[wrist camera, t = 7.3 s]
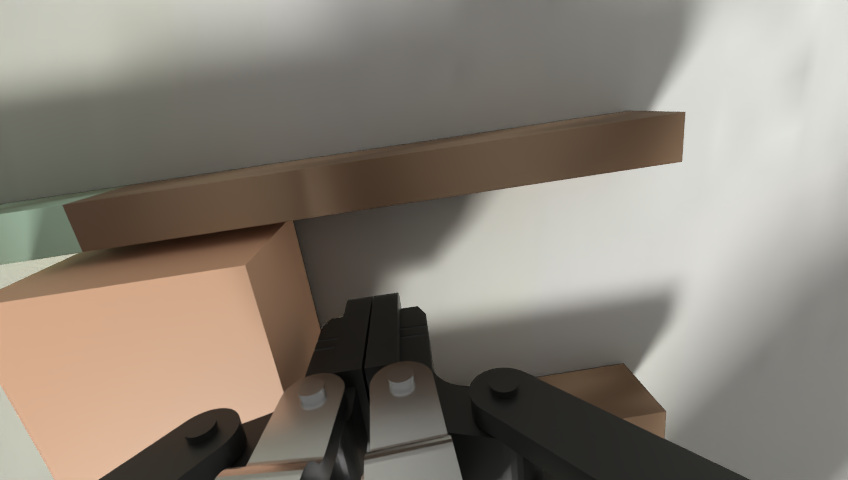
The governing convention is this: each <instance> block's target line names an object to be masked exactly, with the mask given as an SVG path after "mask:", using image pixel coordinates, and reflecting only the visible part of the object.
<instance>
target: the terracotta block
mask: <svg viewBox="0 0 848 480" xmlns="http://www.w3.org/2000/svg"><path fill="white" fill-rule="evenodd" d="M320 332H321V330H320V326H319V322H318V318H317V314H316V310H315V306H314V303H313V299H312V295H311V291H310V287H309V283H308V279H307V275H306V271H305V267H304V263H303V259H302V255H301V251H300V247H299V243H298V239H297V235H296V231H295V227H294V223H293V221H286V222H280V223H273V224H267V225H260V226H253V227H247V228H240V229H234V230H227V231H220V232H214V233H207V234H201V235H194V236H187V237H181V238H174V239H167V240H161V241H154V242H148V243H141V244H134V245H128V246H121V247H115V248H108V249H101V250H95V251H88V252H82V253H78V254H76V255H74V256H71V257H69V258H67V259H65V260H63V261H61V262H58V263H56V264H54V265H52V266H50V267H48V268H45V269H43V270H41V271H39V272H37V273H35V274H32V275H30V276H28V277H26V278H24V279H22V280H20V281H17V282H15V283H13V284H11V285H9V286H7V287H4V288H2V289H0V385H1V386H2V388H3V390H4V392H5V393H6V395H7V397H8V399H9V400H10V402H11V404H12V406H13V407H14V409H15V411H16V413H17V415H18V416H19V418H20V420H21V422H22V423H23V425H24V427H25V429H26V430H27V432H28V434H29V436H30V437H31V439H32V441H33V443H34V444H35V446H36V448H37V450H38V451H39V453H40V455H41V457H42V458H43V460H44V462H45V464H46V465H47V467H48V469H49V471H50V472H51V474H52V476H53V478H54V480H99V479H100V478H102V477H103V476H105V475H106V474H108V473H109V472H111V471H112V470H114V469H115V468H117V467H118V466H120V465H121V464H123V463H124V462H126V461H127V460H129V459H130V458H132V457H133V456H135V455H136V454H138V453H139V452H141V451H142V450H144V449H145V448H147V447H148V446H150V445H151V444H153V443H154V442H156V441H157V440H159V439H160V438H162V437H163V436H165V435H166V434H168V433H169V432H171V431H172V430H174V429H175V428H177V427H178V426H180V425H181V424H183V423H184V422H186V421H187V420H189V419H191V418H192V417H194V416H196V415H198V414H201V413H203V412H206V411H209V410H213V409H218V408H229V409H233V410H235V411H236V412H237V413H238V414H239V416H240V419H241V422H242V424H243V423H245V422H248V421H251V420H254V419H256V418H259V417H262V416H264V415H267V414H269V413H272V412H274V410H275V408H276V406H277V404H278V402H279V400H280V398H281V396H282V395H283V393H284V392H285V391H286V390H287V389H288V388H289V387H290V386H291V385H292V384H294V383H295V382H297V381H299V380H300V379H303V378H305V375H306V372H307V369H308V366H309V363H310V361H311V358H312V355H313V352H314V351H315V346H316V343H317V342H318V338H319V335H320Z"/></svg>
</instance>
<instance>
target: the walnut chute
mask: <svg viewBox="0 0 848 480" xmlns="http://www.w3.org/2000/svg"><path fill="white" fill-rule="evenodd" d="M684 123H685V112H662V111H625V112H618V113H611V114H604V115H598V116H591V117H584V118H578V119H571V120H564V121H557V122H551V123H544V124H537V125H531V126H524V127H517V128H510V129H504V130H497V131H490V132H484V133H477V134H470V135H463V136H457V137H450V138H443V139H437V140H430V141H423V142H416V143H410V144H403V145H396V146H390V147H383V148H376V149H369V150H363V151H356V152H349V153H342V154H336V155H329V156H322V157H316V158H309V159H302V160H295V161H289V162H282V163H275V164H269V165H262V166H255V167H248V168H242V169H235V170H228V171H222V172H215V173H208V174H201V175H195V176H188V177H181V178H175V179H168V180H161V181H154V182H148V183H141V184H134V185H128V186H121V187H114V188H107V189H101V190H94V191H87V192H81V193H74V194H67V195H60V196H54V197H47V198H40V199H34V200H27V201H20V202H13V203H7V204H0V265H2V264H9V263H15V262H22V261H29V260H35V259H42V258H49V257H55V256H62V255H68V254H75V253H82V252H88V251H95V250H101V249H108V248H115V247H121V246H128V245H134V244H141V243H148V242H154V241H161V240H167V239H174V238H181V237H187V236H194V235H201V234H207V233H214V232H220V231H227V230H234V229H240V228H247V227H253V226H260V225H267V224H273V223H280V222H286V221H293V220H300V219H306V218H313V217H320V216H326V215H333V214H339V213H346V212H353V211H359V210H366V209H372V208H379V207H386V206H392V205H399V204H405V203H412V202H419V201H425V200H432V199H438V198H445V197H452V196H458V195H465V194H472V193H478V192H485V191H491V190H498V189H505V188H511V187H518V186H524V185H531V184H538V183H544V182H551V181H557V180H564V179H571V178H577V177H584V176H591V175H597V174H604V173H610V172H617V171H624V170H630V169H637V168H643V167H650V166H657V165H663V164H670V163H676V162H682V154H683V138H684ZM536 378H538V379H540V380H542V381H544V382H546V383H548V384H550V385H552V386H555V387H557V388H559V389H561V390H563V391H565V392H567V393H569V394H571V395H573V396H576V397H578V398H580V399H582V400H584V401H586V402H588V403H590V404H592V405H594V406H596V407H599V408H601V409H603V410H605V411H607V412H609V413H611V414H613V415H615V416H617V417H620V418H622V419H624V420H626V421H628V422H630V423H632V424H634V425H636V426H638V427H640V428H643V429H645V430H647V431H649V432H651V433H653V434H655V435H657V436H659V437H661V438H664V437H665V421H666V411H665V410H664V409H663V408H662V406H661V405H660V404H659V403H658V402H657V401H656V400H655V398H654V397H653V396H652V395H651V394H650V393H649V392H648V390H647V389H646V388H645V387H644V386H643V385H642V384H641V383H640V381H639V380H638V379H637V378H636V377H635V376H634V375H633V373H632V372H631V371H630V370H629V369H628V368H627V367H626V366H625V364H617V365H611V366H605V367H599V368H592V369H586V370H580V371H573V372H567V373H561V374H555V375H548V376H542V377H536Z"/></svg>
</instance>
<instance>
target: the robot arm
mask: <svg viewBox="0 0 848 480" xmlns="http://www.w3.org/2000/svg"><path fill="white" fill-rule="evenodd" d="M99 480H749V479H747V478H745V477H743V476H741V475H739V474H737V473H735V472H733V471H731V470H729V469H726V468H724V467H722V466H720V465H718V464H716V463H714V462H712V461H710V460H708V459H705V458H703V457H701V456H699V455H697V454H695V453H693V452H691V451H689V450H687V449H685V448H682V447H680V446H678V445H676V444H674V443H672V442H670V441H668V440H666V439H664V438H661V437H659V436H657V435H655V434H653V433H651V432H649V431H647V430H645V429H643V428H640V427H638V426H636V425H634V424H632V423H630V422H628V421H626V420H624V419H622V418H620V417H617V416H615V415H613V414H611V413H609V412H607V411H605V410H603V409H601V408H599V407H596V406H594V405H592V404H590V403H588V402H586V401H584V400H582V399H580V398H578V397H576V396H573V395H571V394H569V393H567V392H565V391H563V390H561V389H559V388H557V387H555V386H552V385H550V384H548V383H546V382H544V381H542V380H540V379H538V378H536V377H534V376H531V375H529V374H527V373H525V372H523V371H520V370H517V369H512V368H496V369H491V370H488V371H485V372H483V373H481V374H480V375H478V376H477V377H476V378H475V379H474V380H473V381H472V383H471V385H470V387H469V386H459V385H454V384H450V383H448V382H445V381H443V380H442V379H440V378H439V377H438V376H437V375H436V374H435V372H434V368H433V361H432V353H431V347H430V340H429V333H428V326H427V319H426V314H425V313H424V312H423V311H422V310H421V309H420V308H419V307H418V306H416V307H409V308H403V309H401V303H400V297H399V293H393V294H386V295H379V296H374V298H373V297H366V298H359V299H352V300H348V301H347V305H346V309H345V312H344V316H343V317H341V318H334V319H331V320H330V321H329V322H328V323H327V324H326V325H325V326H324V327H323V328H322V329H321V332H320V335H319V338H318V342H317V343H316V346H315V351H314V352H313V355H312V358H311V361H310V363H309V366H308V369H307V372H306V375H305V378H303V379H300V380H299V381H297V382H295V383H294V384H292V385H291V386H290V387H289V388H288V389H287V390H286V391H285V392H284V393H283V395H282V396H281V398H280V400H279V402H278V404H277V406H276V408H275V410H274V412H272V413H269V414H267V415H264V416H262V417H259V418H256V419H254V420H251V421H248V422H245V423H243V424H242V422H241V419H240V416H239V414H238V413H237V412H236V411H235V410H233V409H229V408H218V409H213V410H209V411H206V412H203V413H201V414H198V415H196V416H194V417H192V418H191V419H189V420H187V421H186V422H184V423H183V424H181V425H180V426H178V427H177V428H175V429H174V430H172V431H171V432H169V433H168V434H166V435H165V436H163V437H162V438H160V439H159V440H157V441H156V442H154V443H153V444H151V445H150V446H148V447H147V448H145V449H144V450H142V451H141V452H139V453H138V454H136V455H135V456H133V457H132V458H130V459H129V460H127V461H126V462H124V463H123V464H121V465H120V466H118V467H117V468H115V469H114V470H112V471H111V472H109V473H108V474H106V475H105V476H103V477H102V478H100V479H99Z"/></svg>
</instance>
